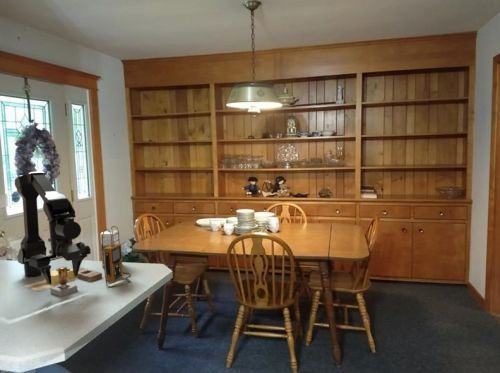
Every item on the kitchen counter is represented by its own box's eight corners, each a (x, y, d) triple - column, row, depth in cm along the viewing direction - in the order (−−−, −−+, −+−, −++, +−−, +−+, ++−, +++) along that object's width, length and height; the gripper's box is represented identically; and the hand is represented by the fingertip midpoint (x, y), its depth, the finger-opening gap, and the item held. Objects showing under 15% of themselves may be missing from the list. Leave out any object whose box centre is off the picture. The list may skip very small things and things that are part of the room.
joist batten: (66, 276, 150) (66, 270, 149) (78, 272, 154) (78, 266, 154) (90, 283, 141) (89, 277, 141) (102, 279, 145) (101, 272, 145)
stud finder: (45, 281, 143) (44, 272, 142) (65, 274, 149) (64, 266, 149) (54, 284, 139) (53, 274, 139) (74, 277, 146) (74, 268, 146)
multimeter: (126, 288, 136) (122, 232, 134) (100, 287, 138) (96, 231, 136) (145, 274, 150) (142, 223, 148) (121, 273, 152) (118, 223, 150)
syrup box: (121, 263, 165) (119, 230, 163) (115, 268, 159) (113, 233, 157) (108, 263, 165) (106, 230, 163) (102, 267, 159) (99, 233, 158)
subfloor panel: (23, 288, 138) (23, 286, 138) (63, 275, 151) (63, 273, 151) (38, 293, 133) (38, 291, 133) (78, 280, 145) (78, 278, 145)
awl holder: (51, 295, 131) (50, 287, 131) (67, 289, 136) (67, 282, 136) (60, 298, 128) (60, 291, 128) (77, 292, 133) (77, 285, 133)
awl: (58, 294, 132) (56, 268, 131) (66, 291, 134) (63, 266, 133) (62, 296, 130) (60, 270, 129) (70, 293, 133) (68, 267, 132)
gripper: (44, 244, 118) (49, 293, 120) (98, 231, 133) (101, 275, 135) (26, 240, 124) (30, 287, 126) (79, 228, 139) (82, 270, 141)
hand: (63, 280), depth 132 cm, fingers open, 9 cm apart
